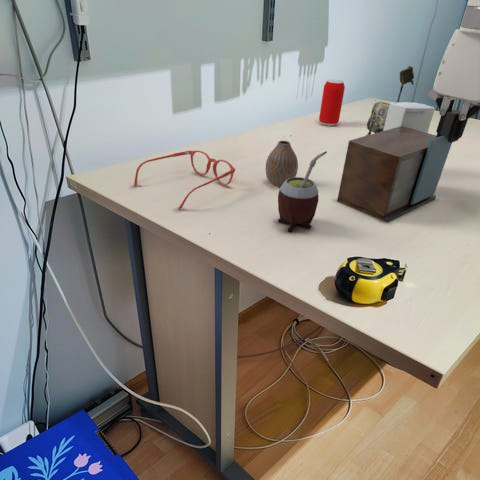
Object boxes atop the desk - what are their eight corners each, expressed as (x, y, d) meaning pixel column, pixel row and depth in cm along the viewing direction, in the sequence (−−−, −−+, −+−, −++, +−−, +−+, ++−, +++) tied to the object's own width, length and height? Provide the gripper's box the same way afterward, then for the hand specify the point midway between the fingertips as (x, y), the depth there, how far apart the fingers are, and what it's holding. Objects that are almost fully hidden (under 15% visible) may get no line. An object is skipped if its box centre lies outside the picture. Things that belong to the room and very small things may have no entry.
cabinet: (435, 199, 90) (455, 140, 82) (387, 222, 80) (405, 158, 72) (386, 181, 96) (401, 125, 89) (336, 201, 87) (348, 140, 79)
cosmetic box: (386, 177, 98) (405, 108, 89) (372, 168, 102) (388, 101, 93) (416, 174, 100) (437, 106, 91) (400, 166, 105) (419, 100, 95)
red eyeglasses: (242, 190, 89) (243, 167, 86) (183, 212, 80) (181, 186, 77) (189, 167, 98) (188, 145, 95) (130, 184, 89) (127, 160, 86)
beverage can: (338, 122, 134) (346, 79, 126) (337, 127, 129) (345, 83, 121) (319, 120, 135) (325, 77, 127) (317, 125, 130) (324, 81, 122)
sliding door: (436, 195, 88) (466, 111, 78) (414, 205, 84) (443, 117, 73) (429, 192, 89) (458, 109, 79) (407, 203, 85) (434, 115, 74)
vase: (287, 192, 89) (292, 149, 84) (258, 185, 92) (261, 143, 86) (300, 182, 94) (306, 141, 88) (272, 175, 96) (276, 135, 91)
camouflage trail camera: (359, 146, 116) (377, 61, 103) (402, 151, 114) (426, 66, 101) (357, 155, 110) (376, 66, 97) (402, 161, 108) (427, 71, 95)
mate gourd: (282, 213, 81) (291, 131, 72) (322, 222, 79) (337, 138, 70) (269, 229, 76) (277, 143, 66) (311, 239, 74) (326, 151, 64)
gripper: (547, 26, 66) (496, 147, 78) (452, 16, 75) (420, 126, 87) (528, 27, 62) (478, 155, 74) (430, 17, 71) (399, 132, 83)
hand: (447, 138), depth 80 cm, fingers closed on sliding door
